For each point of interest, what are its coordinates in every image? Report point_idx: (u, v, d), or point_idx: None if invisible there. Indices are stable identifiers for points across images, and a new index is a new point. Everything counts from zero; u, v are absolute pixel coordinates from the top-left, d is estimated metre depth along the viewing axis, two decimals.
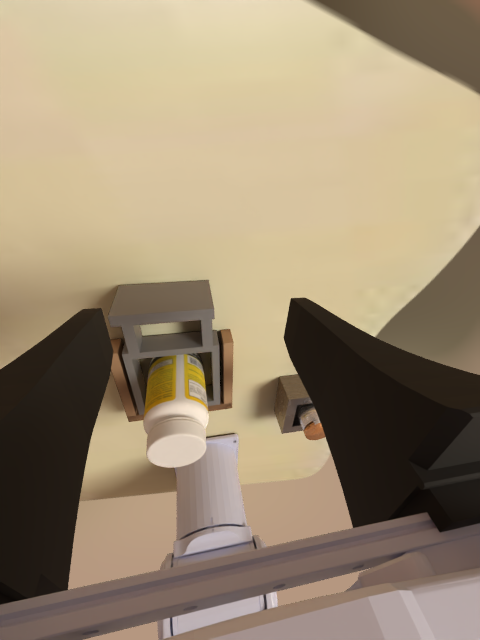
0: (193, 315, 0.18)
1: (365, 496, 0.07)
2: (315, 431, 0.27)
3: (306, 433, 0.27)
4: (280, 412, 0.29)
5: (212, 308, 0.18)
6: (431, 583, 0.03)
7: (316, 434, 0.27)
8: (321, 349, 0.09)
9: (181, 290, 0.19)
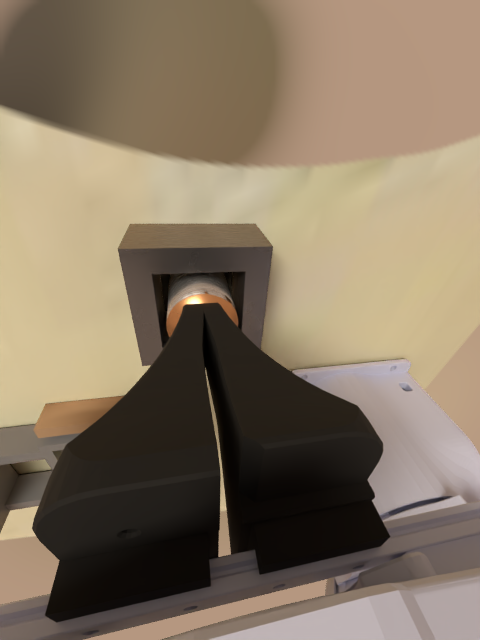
0: None
1: (231, 522, 0.06)
2: None
3: None
4: None
5: None
6: (431, 583, 0.03)
7: None
8: (213, 359, 0.08)
9: None
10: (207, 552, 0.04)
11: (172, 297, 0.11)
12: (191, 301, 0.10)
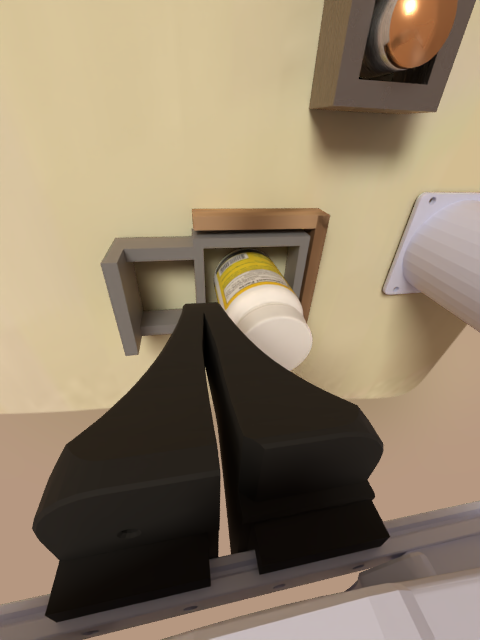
0: (114, 286, 0.15)
1: (231, 522, 0.06)
2: (416, 33, 0.11)
3: (410, 64, 0.12)
4: (386, 111, 0.15)
5: (102, 264, 0.14)
6: (431, 583, 0.03)
7: (431, 26, 0.11)
8: (213, 359, 0.08)
9: None
10: (207, 552, 0.04)
11: None
12: None
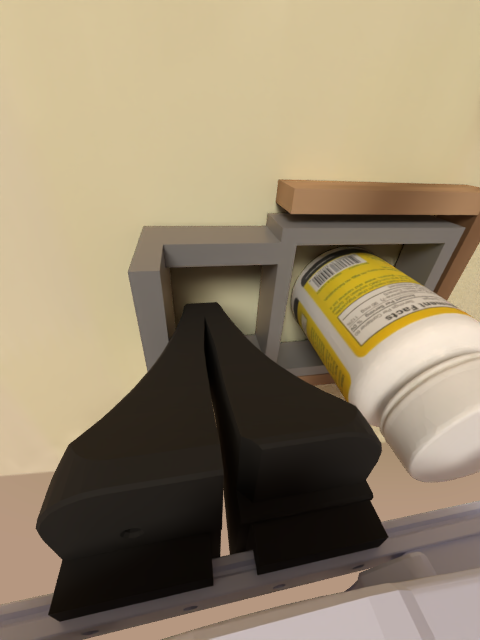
0: (150, 313, 0.08)
1: (230, 523, 0.06)
2: None
3: None
4: None
5: (130, 273, 0.07)
6: (431, 583, 0.03)
7: None
8: (212, 359, 0.08)
9: None
10: (210, 552, 0.04)
11: None
12: None
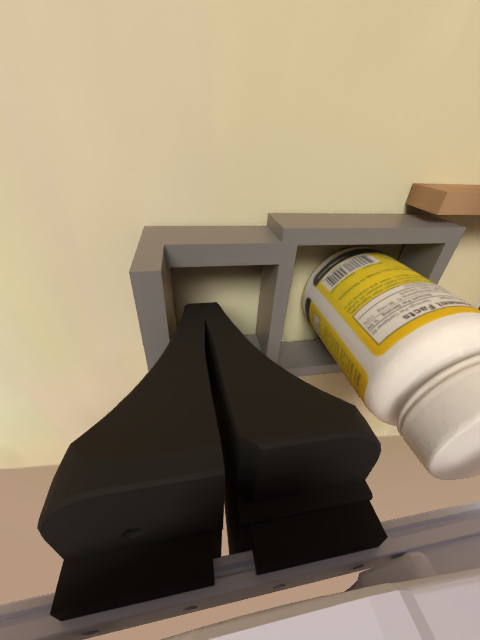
0: (151, 313, 0.08)
1: (229, 523, 0.06)
2: None
3: None
4: None
5: (131, 273, 0.07)
6: (431, 583, 0.03)
7: None
8: (211, 359, 0.08)
9: None
10: (211, 551, 0.04)
11: None
12: None
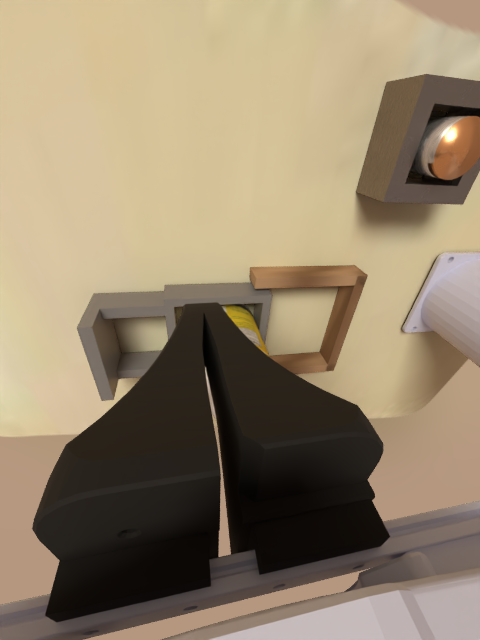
0: (90, 345, 0.17)
1: (231, 522, 0.06)
2: (454, 157, 0.14)
3: (447, 178, 0.15)
4: None
5: (78, 328, 0.16)
6: (431, 583, 0.03)
7: (466, 152, 0.14)
8: (213, 359, 0.08)
9: None
10: (207, 552, 0.04)
11: (436, 128, 0.14)
12: (464, 123, 0.14)
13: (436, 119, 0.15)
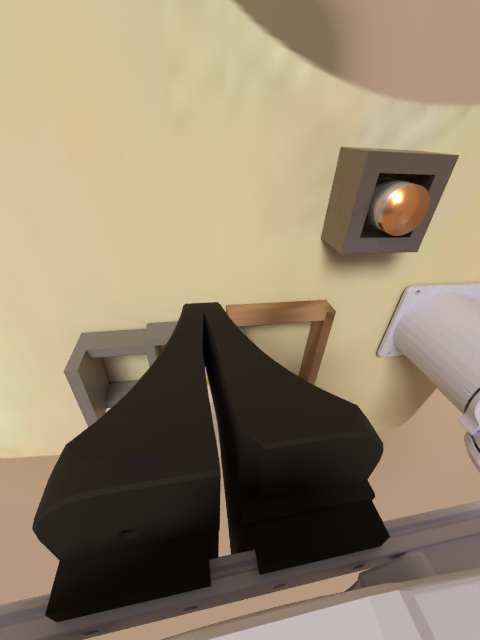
0: (76, 385, 0.18)
1: (231, 522, 0.06)
2: (401, 217, 0.16)
3: (396, 234, 0.16)
4: None
5: (65, 371, 0.18)
6: (431, 583, 0.03)
7: (411, 213, 0.16)
8: (213, 359, 0.08)
9: None
10: (207, 552, 0.04)
11: (384, 192, 0.16)
12: (406, 190, 0.15)
13: (385, 182, 0.16)
